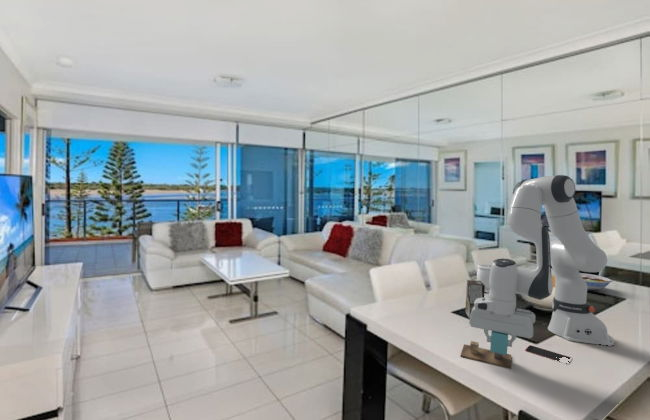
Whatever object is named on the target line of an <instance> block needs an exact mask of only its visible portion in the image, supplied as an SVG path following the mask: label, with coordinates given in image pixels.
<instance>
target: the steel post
mask: <svg viewBox="0 0 650 420" xmlns="http://www.w3.org/2000/svg"><path fill="white" fill-rule="evenodd" d="M494 358H495V359H499V360H502V358H503V354H500V353H496V352H494Z"/></svg>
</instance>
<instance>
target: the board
mask: <svg viewBox="0 0 650 420" xmlns="http://www.w3.org/2000/svg"><path fill="white" fill-rule="evenodd" d="M479 346H480V345H479V342H478V341H473V340H470V345H469V344H465V343H464V344H463V347H462V349H461V353H460V358H465V359H469V360H474V361H478V362H481V363H486V364H490V365H494V366H498V367H503V368H507V369H510V370H511V369H512V354H509V353H507V355H505V354H503V358H502V360H499V359H495V358H494V352H491V351H490V349H487V348H484V347H483V348H482V347H479Z"/></svg>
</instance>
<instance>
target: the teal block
mask: <svg viewBox="0 0 650 420" xmlns="http://www.w3.org/2000/svg"><path fill="white" fill-rule="evenodd" d="M490 336H491V342H490V348H489V350H490V351H491V352H496V353H500V354H505V355H507V354H508V347H509V346H508V340H509V334H505V333H500V332H495V331H491V332H490Z"/></svg>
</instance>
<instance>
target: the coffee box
mask: <svg viewBox="0 0 650 420" xmlns="http://www.w3.org/2000/svg"><path fill="white" fill-rule="evenodd" d="M465 289H466V292H465V293H466V295H465V313H466V315H467V318H469V319H470V315H471V311H472V309H473V307H474V302H475V300H476V299H477V298H485V285H484V284H483V283H482V282H481V281H477V280H474V279H473V280H471V279H466V288H465Z"/></svg>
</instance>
